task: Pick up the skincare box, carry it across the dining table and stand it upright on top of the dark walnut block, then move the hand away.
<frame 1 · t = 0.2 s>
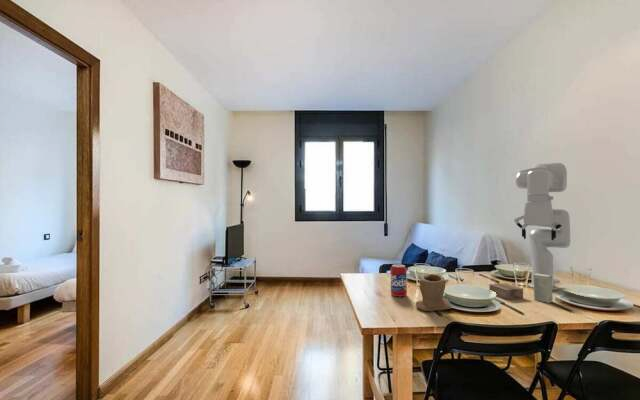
hand: (538, 239, 129), 31 cm above the table, tool pointing down, fingers open, 9 cm apart
walnut block: (505, 296, 149), on the table
skincare box: (542, 301, 142), on the table
soda can: (398, 295, 152), on the table
stone cup: (434, 310, 131), on the table
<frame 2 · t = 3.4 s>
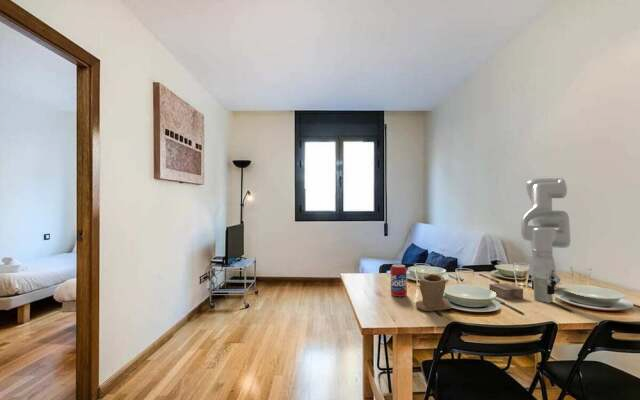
hand: (542, 291, 142), 4 cm above the table, tool pointing down, fingers closed on skincare box, 7 cm apart
skincare box: (543, 301, 142), on the table, touching gripper
everything else where it was.
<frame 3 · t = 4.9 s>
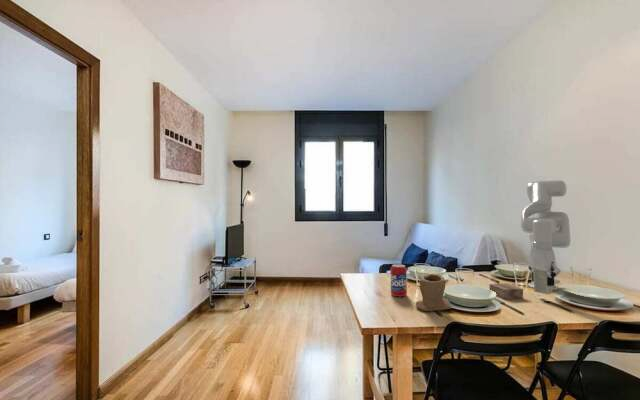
hand: (542, 283, 142), 8 cm above the table, tool pointing down, fingers closed on skincare box, 7 cm apart
skincare box: (542, 292, 142), point 4 cm above the table, touching gripper
everything else where it was.
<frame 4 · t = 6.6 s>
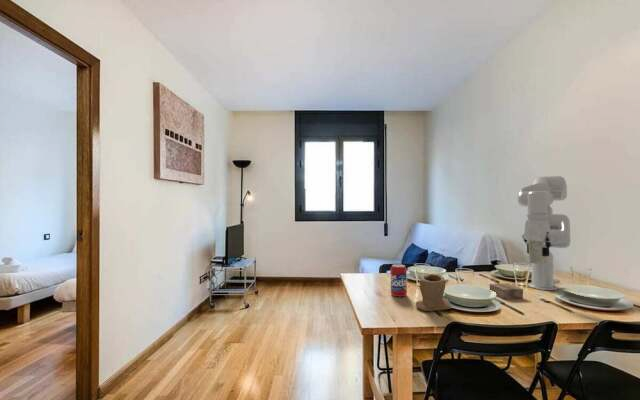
hand: (537, 254, 143), 22 cm above the table, tool pointing down, fingers closed on skincare box, 7 cm apart
skincare box: (537, 264, 143), point 17 cm above the table, touching gripper
everything else where it was.
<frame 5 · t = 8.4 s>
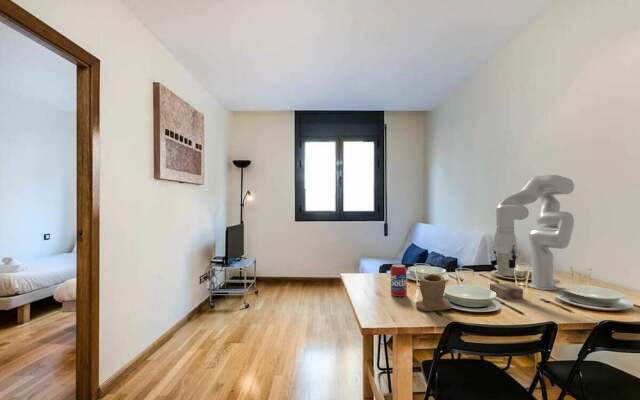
hand: (505, 265, 149), 15 cm above the table, tool pointing down, fingers closed on skincare box, 7 cm apart
skincare box: (505, 275, 149), point 10 cm above the table, touching gripper
everything else where it was.
when the fingers open (11 cm above the table, at t = 9.9 s): skincare box drops 2 cm, point 4 cm above the table.
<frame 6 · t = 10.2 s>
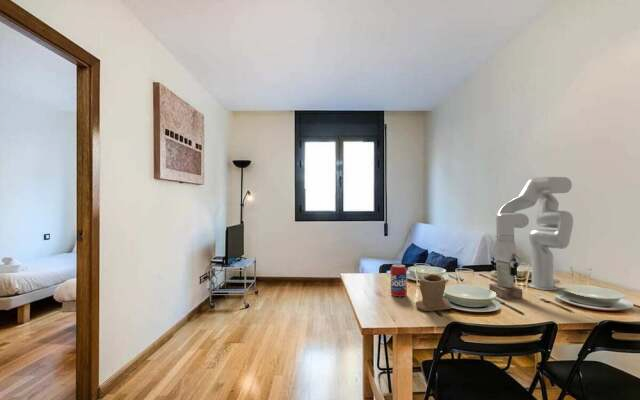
hand: (505, 273, 149), 11 cm above the table, tool pointing down, fingers open, 9 cm apart
skincare box: (505, 286, 150), point 4 cm above the table
everything else where it was.
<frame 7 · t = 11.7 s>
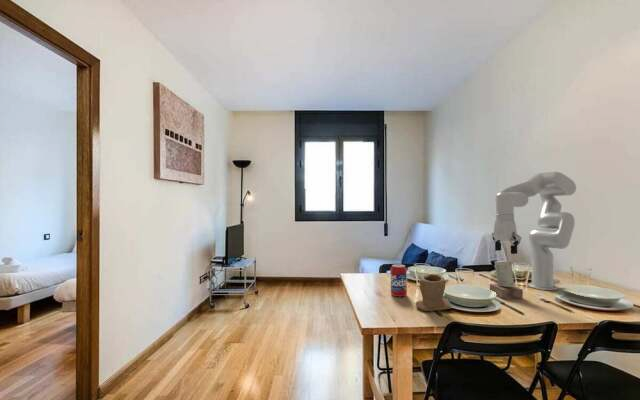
hand: (505, 252, 150), 22 cm above the table, tool pointing down, fingers open, 9 cm apart
walnut block: (505, 296, 149), on the table, touching skincare box
skincare box: (505, 286, 150), point 5 cm above the table, touching walnut block
everything else where it was.
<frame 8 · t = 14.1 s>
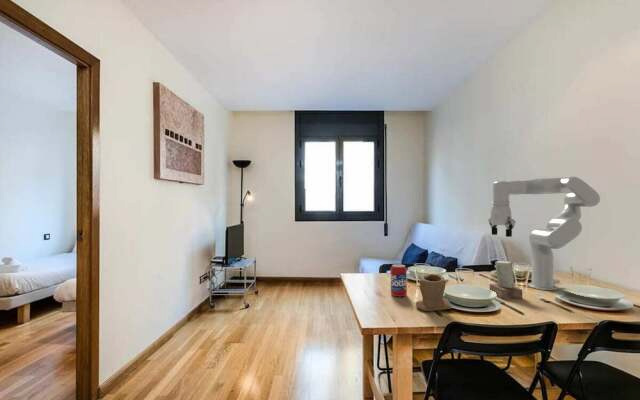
hand: (501, 235, 163), 28 cm above the table, tool pointing down, fingers open, 9 cm apart
walnut block: (505, 296, 149), on the table
skincare box: (505, 286, 149), point 5 cm above the table
everything else where it was.
at the end: skincare box inside the target area on the walnut block (0.3 cm from its centre), point 4.9 cm above the walnut block's base; skincare box tilted 2°; the gripper is holding nothing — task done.
